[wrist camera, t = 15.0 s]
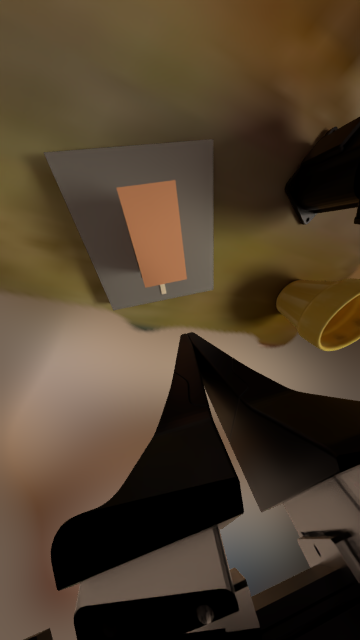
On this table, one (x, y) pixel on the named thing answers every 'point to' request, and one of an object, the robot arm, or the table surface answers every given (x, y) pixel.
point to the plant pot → (323, 311)
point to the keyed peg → (155, 230)
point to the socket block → (109, 221)
